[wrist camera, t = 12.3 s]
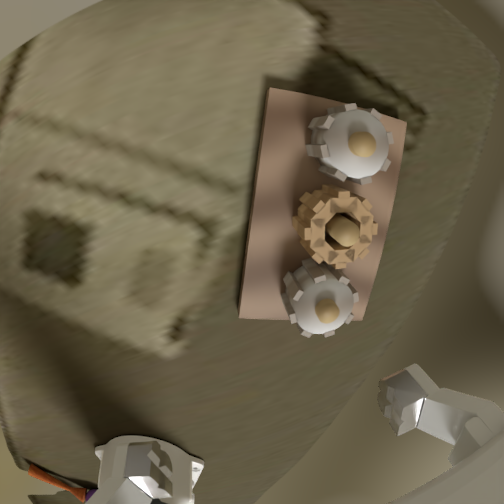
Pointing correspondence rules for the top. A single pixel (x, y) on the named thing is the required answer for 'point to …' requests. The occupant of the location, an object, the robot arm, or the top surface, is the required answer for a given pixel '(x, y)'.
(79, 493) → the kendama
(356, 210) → the oak gear
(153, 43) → the top surface
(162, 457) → the robot arm
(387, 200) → the gear board
